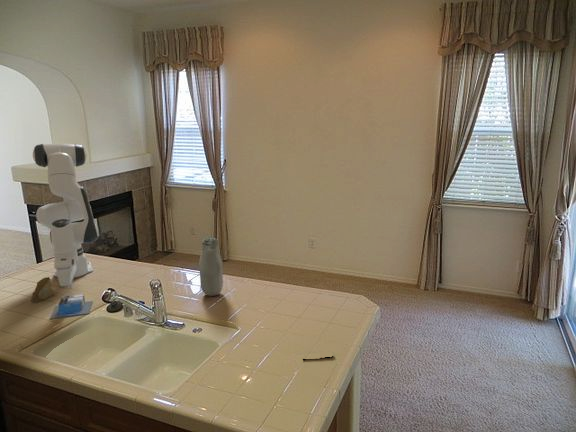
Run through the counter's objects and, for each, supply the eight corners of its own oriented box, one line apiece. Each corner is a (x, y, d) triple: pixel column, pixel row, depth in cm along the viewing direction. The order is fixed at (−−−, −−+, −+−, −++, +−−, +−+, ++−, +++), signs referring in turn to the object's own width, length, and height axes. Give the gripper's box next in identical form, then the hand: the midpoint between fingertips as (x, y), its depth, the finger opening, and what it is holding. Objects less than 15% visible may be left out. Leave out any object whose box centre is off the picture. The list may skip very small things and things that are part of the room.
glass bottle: (197, 297, 190) (193, 239, 183) (209, 288, 199) (206, 233, 192) (215, 300, 186) (212, 241, 179) (227, 291, 195) (224, 235, 188)
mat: (55, 306, 181) (55, 306, 181) (92, 301, 186) (92, 301, 186) (49, 319, 170) (49, 318, 170) (89, 313, 175) (89, 312, 175)
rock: (31, 301, 181) (56, 292, 187) (24, 284, 183) (49, 275, 189) (32, 307, 190) (55, 298, 196) (25, 290, 192) (49, 282, 197)
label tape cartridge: (84, 293, 184) (79, 305, 173) (85, 301, 185) (80, 313, 174) (62, 296, 182) (56, 308, 170) (63, 304, 183) (57, 317, 171)
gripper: (62, 250, 184) (66, 279, 187) (53, 266, 165) (58, 298, 169) (77, 249, 186) (81, 277, 189) (70, 264, 167) (75, 295, 171)
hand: (70, 287), depth 179 cm, fingers closed
